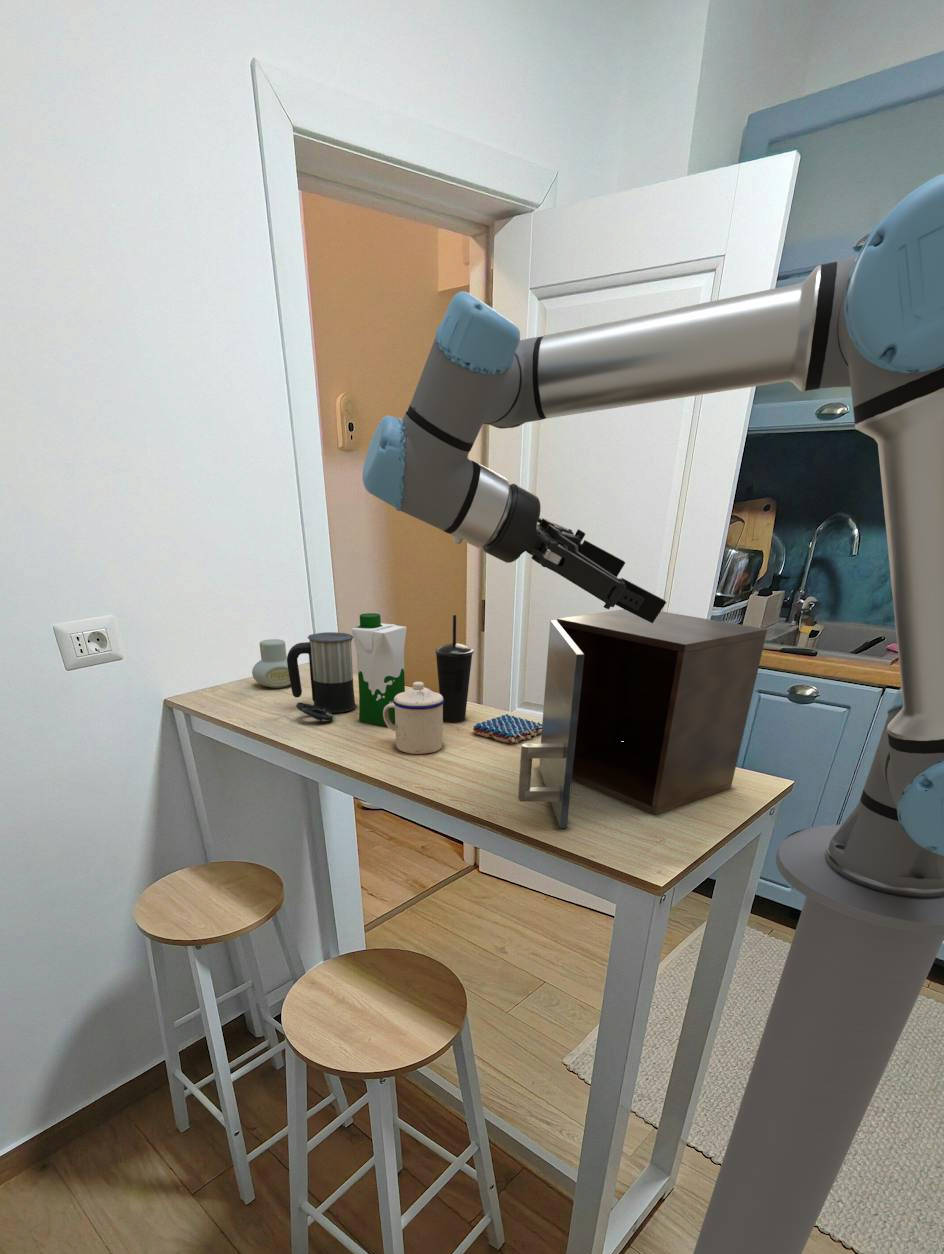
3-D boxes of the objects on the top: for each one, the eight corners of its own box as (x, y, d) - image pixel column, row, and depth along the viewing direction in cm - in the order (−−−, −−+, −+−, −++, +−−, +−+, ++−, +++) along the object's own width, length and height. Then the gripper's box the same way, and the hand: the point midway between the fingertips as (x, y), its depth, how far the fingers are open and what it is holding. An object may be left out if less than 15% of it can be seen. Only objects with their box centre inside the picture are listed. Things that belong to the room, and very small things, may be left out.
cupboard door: (518, 828, 100) (530, 654, 88) (504, 768, 121) (512, 620, 108) (566, 828, 100) (584, 654, 88) (544, 768, 121) (556, 620, 108)
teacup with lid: (452, 743, 132) (452, 679, 126) (429, 758, 126) (428, 691, 120) (397, 734, 137) (395, 672, 131) (372, 748, 131) (368, 683, 124)
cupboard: (655, 815, 104) (685, 644, 92) (544, 768, 121) (557, 618, 109) (731, 788, 113) (767, 629, 100) (617, 747, 130) (637, 607, 117)
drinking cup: (478, 716, 147) (481, 613, 136) (462, 726, 141) (464, 620, 131) (445, 711, 150) (445, 610, 139) (428, 721, 144) (427, 616, 134)
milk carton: (378, 711, 151) (373, 610, 140) (413, 718, 146) (411, 614, 136) (352, 721, 144) (345, 617, 134) (388, 729, 140) (384, 621, 130)
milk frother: (350, 700, 158) (346, 630, 150) (370, 719, 145) (366, 644, 138) (287, 707, 154) (279, 635, 146) (302, 727, 141) (294, 650, 133)
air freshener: (258, 691, 165) (252, 646, 159) (250, 683, 171) (244, 640, 166) (304, 686, 168) (299, 642, 163) (294, 678, 175) (290, 636, 170)
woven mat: (546, 733, 137) (547, 723, 136) (511, 746, 131) (512, 735, 130) (505, 722, 143) (506, 712, 142) (470, 734, 137) (470, 723, 136)
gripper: (459, 517, 92) (589, 583, 101) (504, 588, 74) (657, 660, 83) (487, 455, 87) (620, 530, 96) (542, 515, 70) (699, 600, 79)
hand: (637, 590), depth 90 cm, fingers open, 13 cm apart
